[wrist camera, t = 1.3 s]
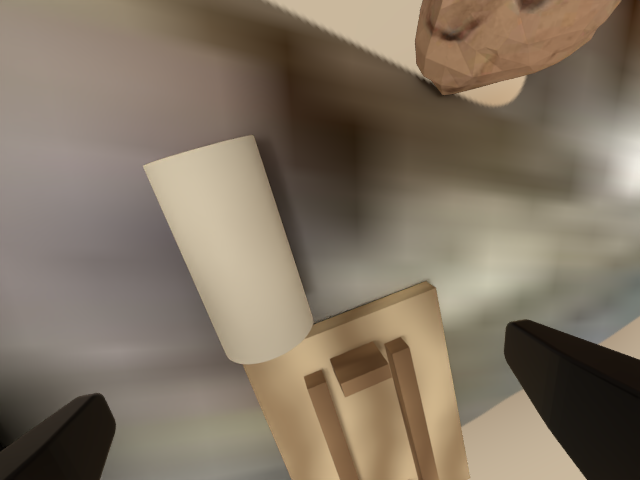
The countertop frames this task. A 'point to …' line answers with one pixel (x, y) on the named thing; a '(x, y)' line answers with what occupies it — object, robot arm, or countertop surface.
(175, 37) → the countertop surface
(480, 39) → the rock
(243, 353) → the roll
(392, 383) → the holder
